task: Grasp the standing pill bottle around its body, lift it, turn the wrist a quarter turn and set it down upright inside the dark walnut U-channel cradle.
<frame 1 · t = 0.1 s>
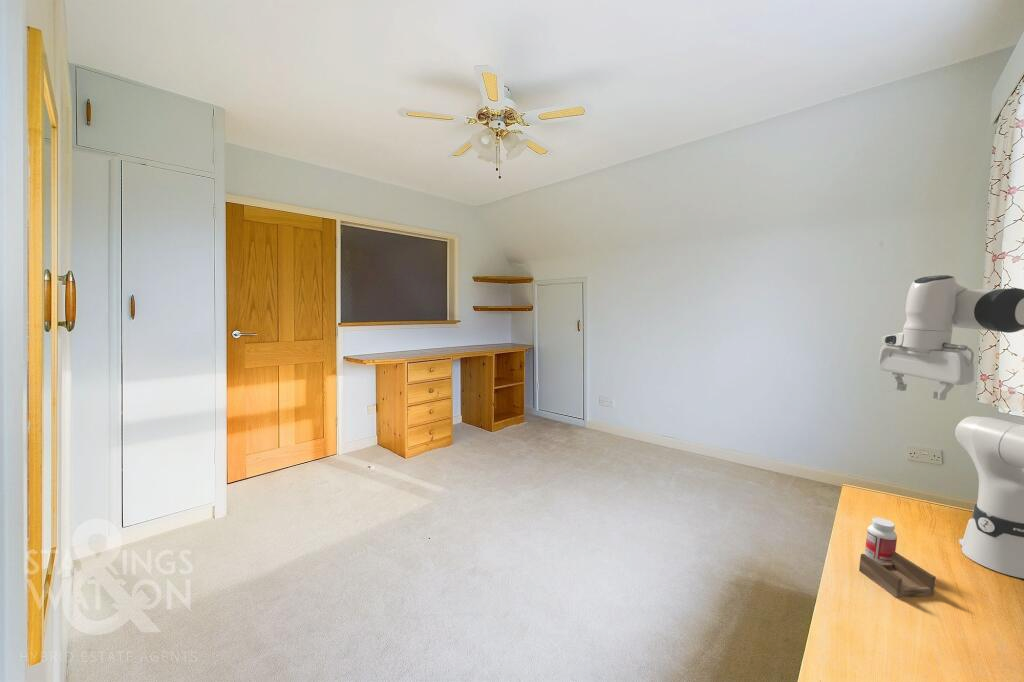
hand: (919, 394, 108), 48 cm above the table, fingers open, 8 cm apart
cradle: (894, 582, 108), on the table
pill bottle: (878, 559, 117), on the table
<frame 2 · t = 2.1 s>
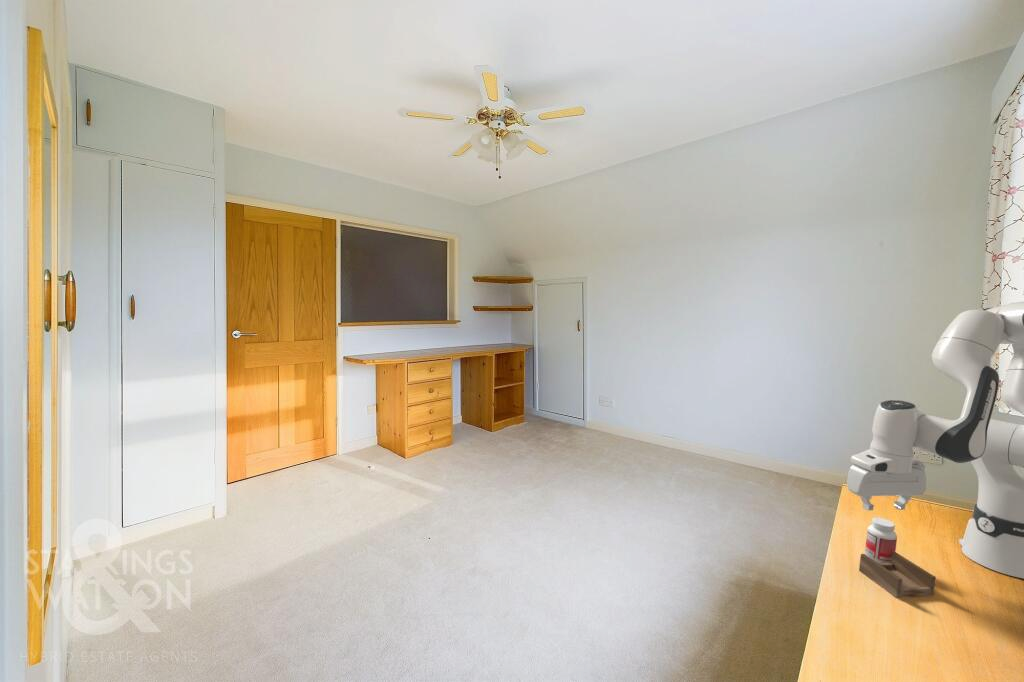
hand: (883, 509, 115), 15 cm above the table, fingers open, 8 cm apart
nothing on the table moved.
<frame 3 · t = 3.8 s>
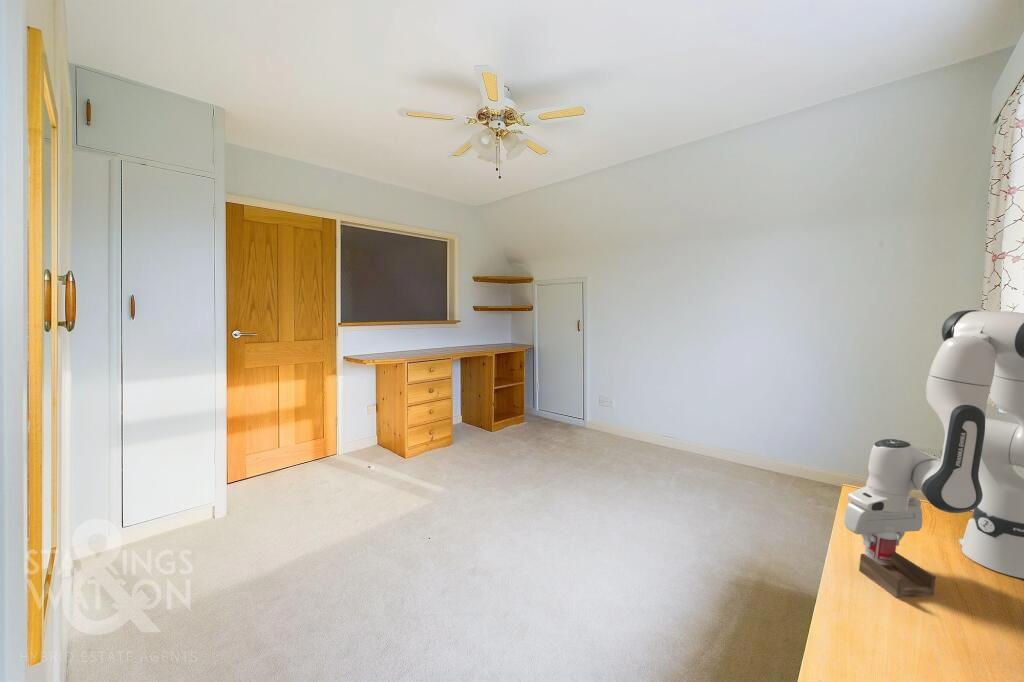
hand: (880, 545, 117), 4 cm above the table, fingers closed on pill bottle, 6 cm apart
pill bottle: (879, 559, 117), on the table, touching gripper
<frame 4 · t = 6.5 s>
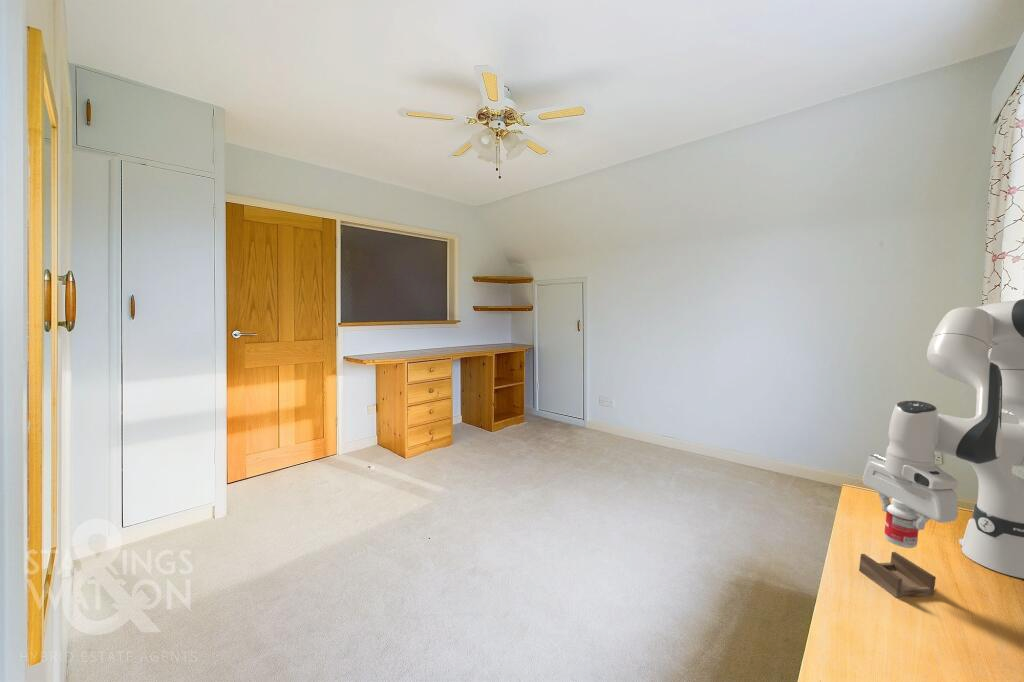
hand: (902, 519, 106), 17 cm above the table, fingers closed on pill bottle, 6 cm apart
pill bottle: (899, 542, 107), point 11 cm above the table, touching gripper
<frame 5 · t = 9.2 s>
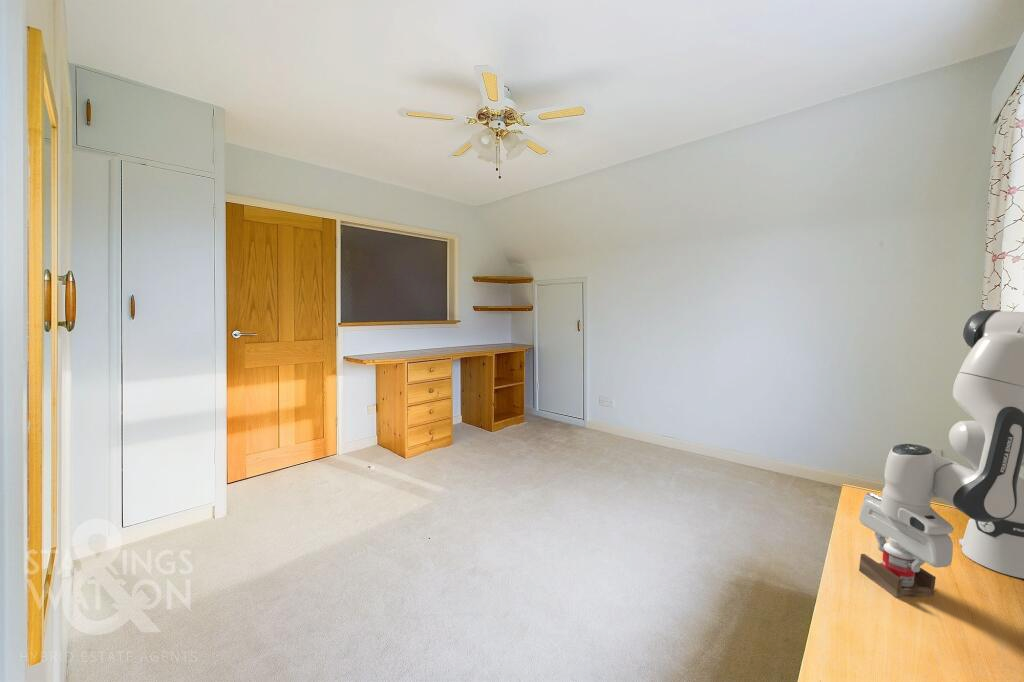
hand: (897, 560, 107), 6 cm above the table, fingers closed on pill bottle, 6 cm apart
pill bottle: (896, 581, 107), point 1 cm above the table, touching cradle, gripper
when the fingers open (6 cm above the table, at t = 9.3 s): pill bottle stays where it is, resting on cradle.
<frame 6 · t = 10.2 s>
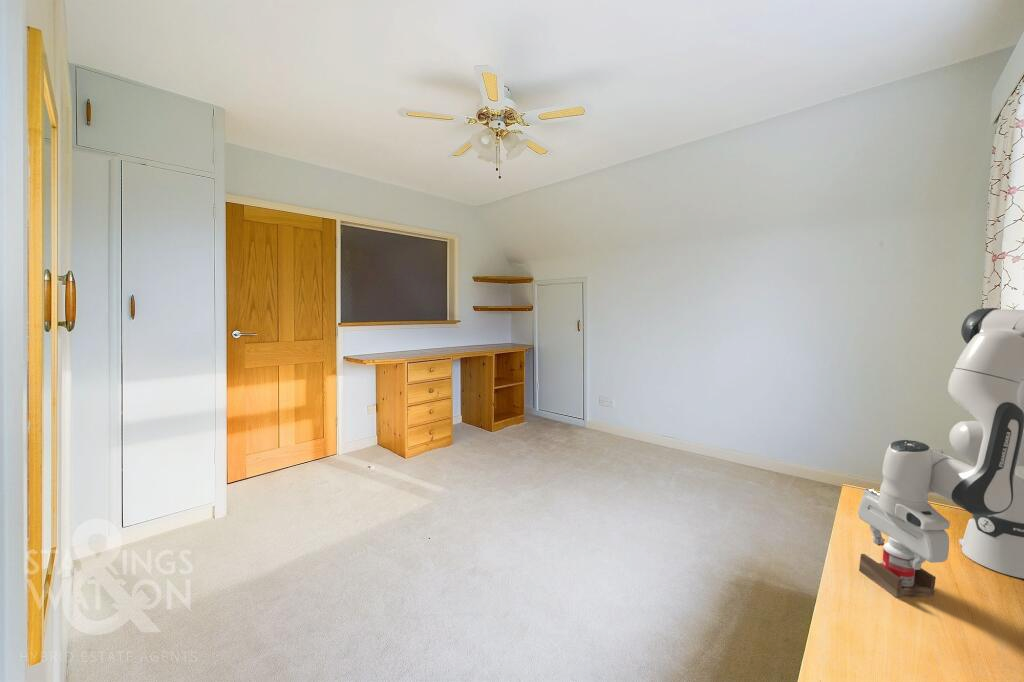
hand: (895, 555, 108), 7 cm above the table, fingers open, 8 cm apart
pill bottle: (896, 581, 107), point 1 cm above the table, touching cradle, gripper
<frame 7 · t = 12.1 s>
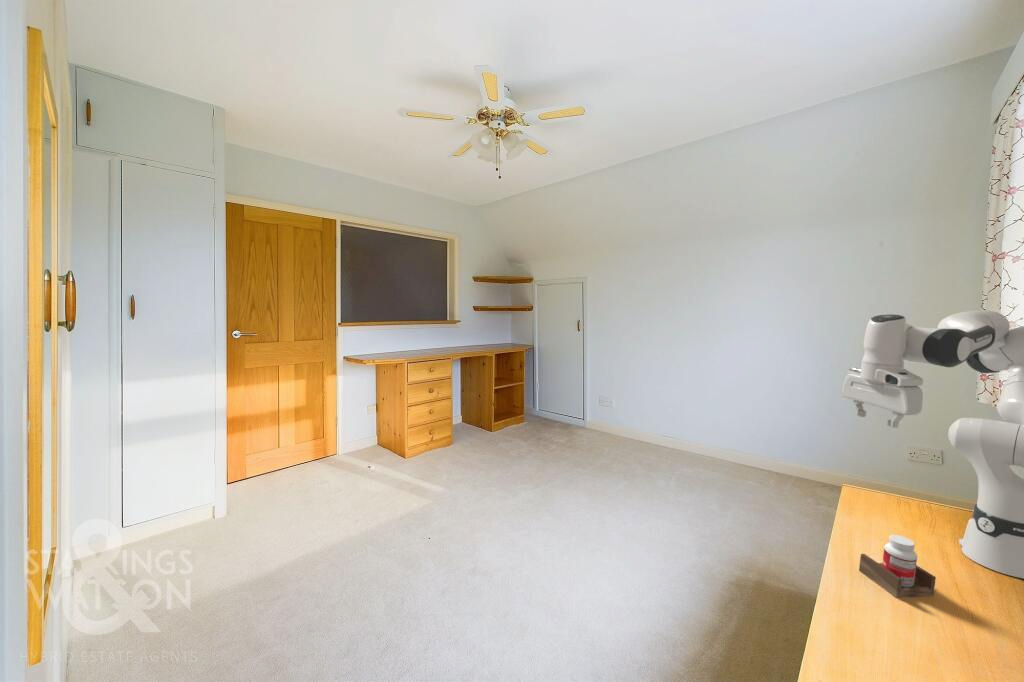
hand: (876, 421, 119), 37 cm above the table, fingers open, 8 cm apart
pill bottle: (896, 581, 107), point 1 cm above the table, touching cradle
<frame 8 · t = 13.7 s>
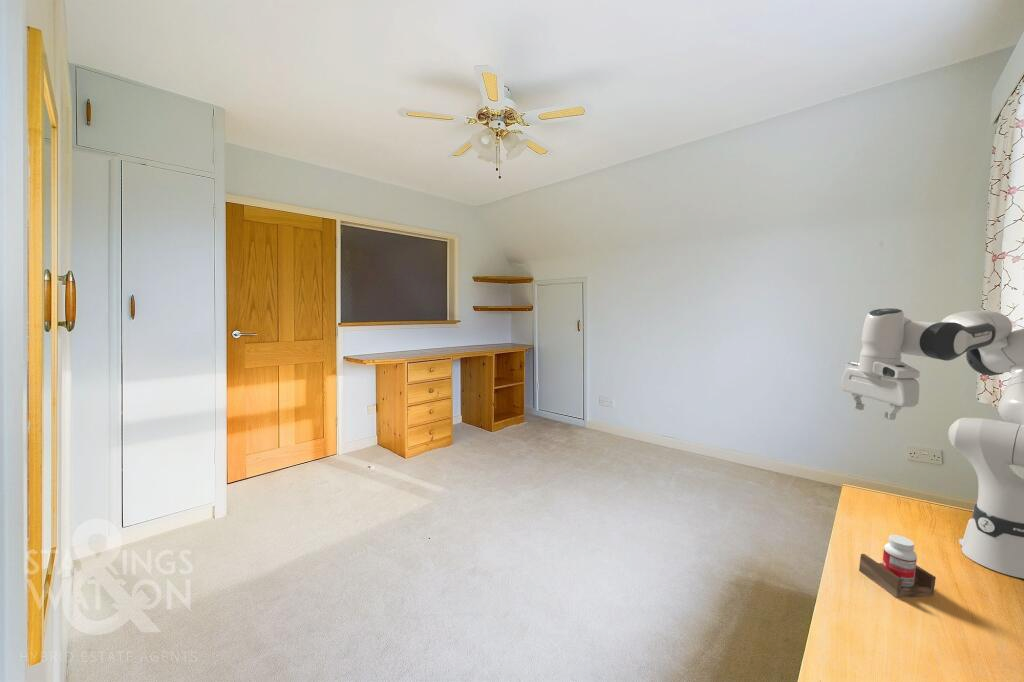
hand: (873, 414, 121), 39 cm above the table, fingers open, 8 cm apart
nothing on the table moved.
at the end: pill bottle 0.4 cm off-centre on the cradle, point 0.6 cm above the cradle's base; pill bottle tilted 0°; the gripper is holding nothing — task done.
